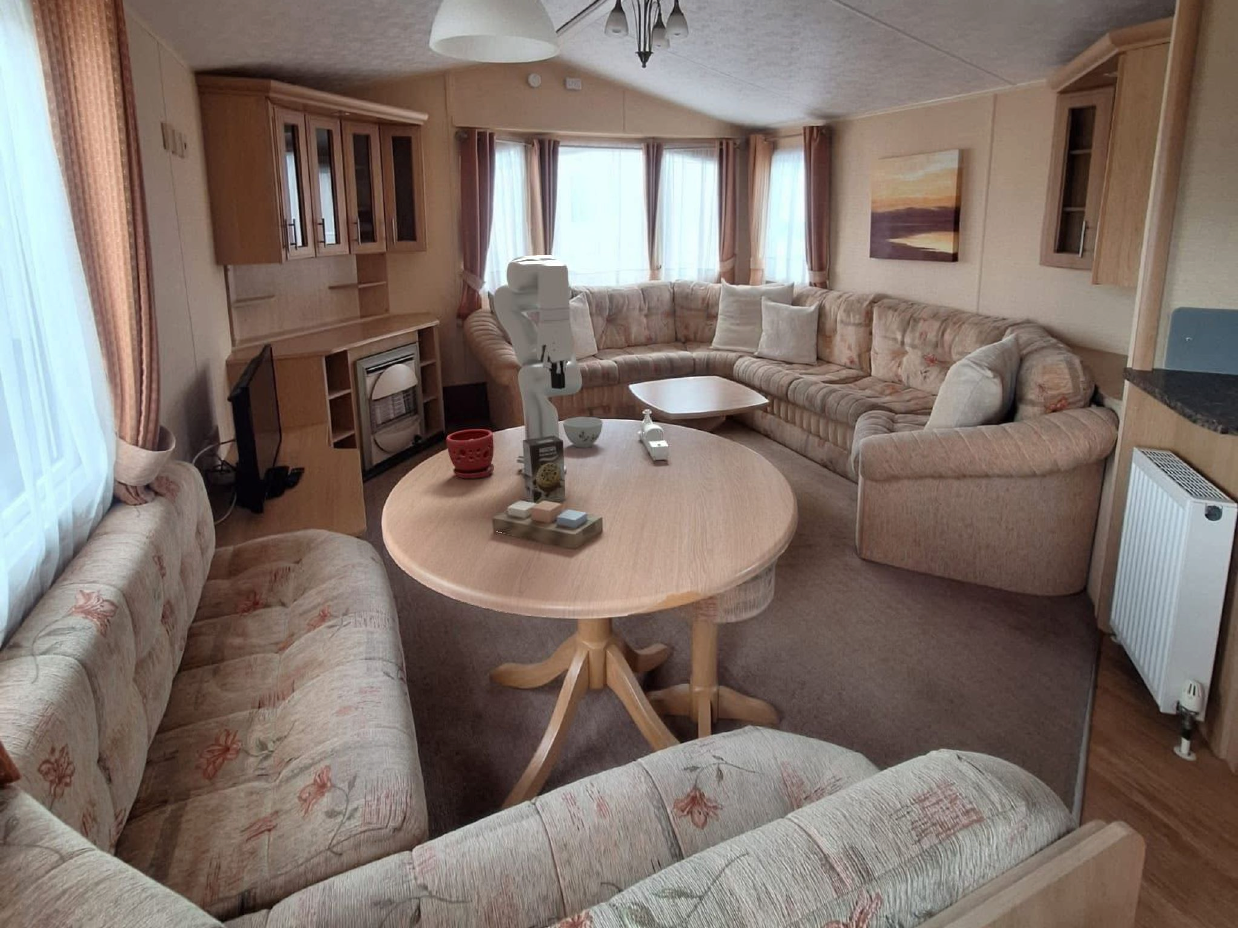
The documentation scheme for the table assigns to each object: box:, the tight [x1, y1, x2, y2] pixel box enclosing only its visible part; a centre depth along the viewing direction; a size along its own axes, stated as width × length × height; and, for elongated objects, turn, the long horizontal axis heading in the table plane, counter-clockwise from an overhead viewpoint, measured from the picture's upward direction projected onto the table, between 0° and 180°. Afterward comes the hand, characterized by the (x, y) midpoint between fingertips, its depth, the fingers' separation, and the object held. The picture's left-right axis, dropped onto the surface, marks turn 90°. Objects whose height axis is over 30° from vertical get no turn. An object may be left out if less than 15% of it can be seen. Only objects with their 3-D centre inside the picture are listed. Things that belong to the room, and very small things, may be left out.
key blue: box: [557, 509, 588, 528], centre depth 187 cm, size 5×5×4 cm
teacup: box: [562, 416, 604, 448], centre depth 259 cm, size 15×12×8 cm
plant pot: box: [445, 428, 495, 479], centre depth 232 cm, size 13×13×12 cm
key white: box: [507, 500, 537, 518], centre depth 194 cm, size 5×5×4 cm
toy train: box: [637, 409, 670, 462], centre depth 253 cm, size 6×30×10 cm, turn 7°
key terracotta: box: [531, 501, 563, 523], centre depth 190 cm, size 5×5×4 cm
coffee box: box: [522, 436, 567, 504], centre depth 210 cm, size 9×6×16 cm
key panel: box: [491, 508, 604, 550], centre depth 191 cm, size 23×12×4 cm, turn 60°
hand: (558, 387), depth 205 cm, fingers closed
